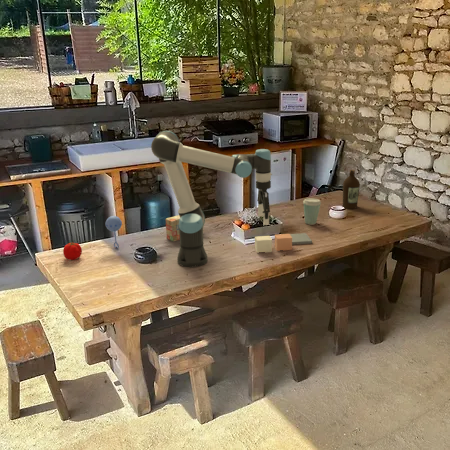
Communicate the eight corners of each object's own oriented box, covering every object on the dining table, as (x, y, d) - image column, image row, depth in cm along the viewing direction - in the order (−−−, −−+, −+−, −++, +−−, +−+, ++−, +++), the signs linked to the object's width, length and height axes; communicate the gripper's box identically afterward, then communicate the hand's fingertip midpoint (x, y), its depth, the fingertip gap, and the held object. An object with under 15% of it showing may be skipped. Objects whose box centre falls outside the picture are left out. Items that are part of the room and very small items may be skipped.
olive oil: (338, 205, 333) (341, 168, 324) (353, 204, 335) (356, 167, 326) (345, 210, 323) (348, 172, 314) (360, 208, 325) (363, 171, 316)
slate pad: (290, 244, 268) (290, 242, 268) (285, 236, 279) (285, 234, 279) (311, 243, 270) (312, 240, 269) (305, 235, 281) (305, 233, 280)
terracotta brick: (277, 251, 261) (277, 238, 258) (274, 246, 266) (274, 234, 264) (291, 250, 262) (292, 237, 259) (289, 245, 267) (289, 233, 265)
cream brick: (256, 253, 259) (256, 240, 256) (254, 248, 264) (254, 236, 262) (271, 252, 260) (272, 239, 257) (269, 247, 265) (269, 235, 263)
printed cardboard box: (196, 229, 293) (195, 210, 289) (203, 232, 289) (202, 212, 285) (166, 238, 281) (165, 218, 276) (172, 241, 276) (171, 220, 272)
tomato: (66, 263, 250) (64, 248, 247) (61, 257, 258) (59, 242, 255) (85, 259, 255) (83, 244, 252) (79, 253, 263) (77, 238, 260)
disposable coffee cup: (302, 219, 306) (303, 196, 301) (320, 220, 304) (321, 197, 299) (301, 225, 297) (302, 201, 292) (319, 226, 295) (321, 202, 289)
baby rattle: (104, 247, 269) (101, 216, 263) (117, 243, 275) (114, 212, 269) (114, 252, 263) (110, 220, 257) (127, 247, 269) (124, 215, 263)
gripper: (276, 186, 238) (275, 227, 245) (265, 174, 261) (265, 212, 268) (260, 187, 237) (261, 228, 244) (251, 174, 260) (252, 213, 267)
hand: (263, 220), depth 256 cm, fingers open, 13 cm apart
